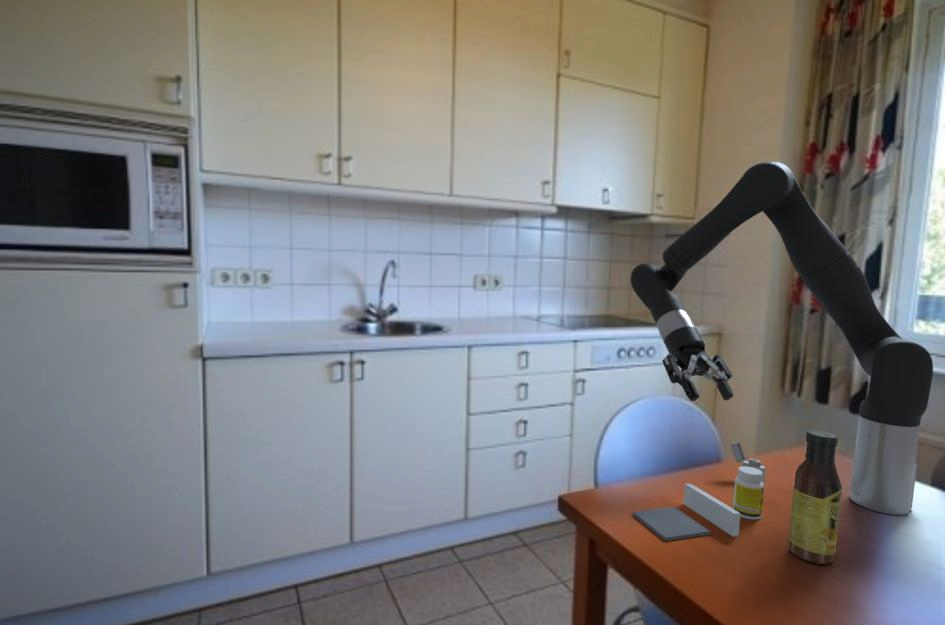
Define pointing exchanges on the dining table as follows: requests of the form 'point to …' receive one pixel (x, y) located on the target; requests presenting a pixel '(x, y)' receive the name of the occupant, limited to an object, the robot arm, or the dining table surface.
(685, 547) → the dining table surface
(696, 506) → the wall
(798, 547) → the sauce bottle
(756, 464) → the lighter
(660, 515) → the coaster
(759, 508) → the supplement bottle
